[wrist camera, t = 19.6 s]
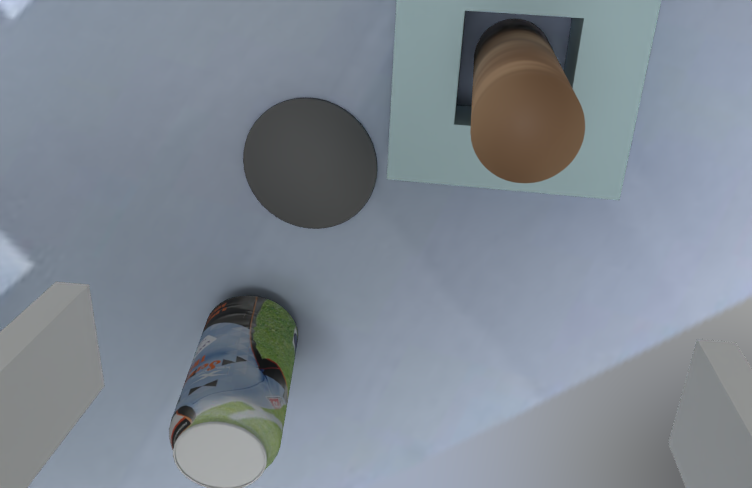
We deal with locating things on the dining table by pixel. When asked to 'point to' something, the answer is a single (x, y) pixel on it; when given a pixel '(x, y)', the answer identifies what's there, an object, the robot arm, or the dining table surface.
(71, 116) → the dining table surface
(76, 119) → the dining table surface
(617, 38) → the socket
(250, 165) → the pad
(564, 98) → the peg
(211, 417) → the beverage can
